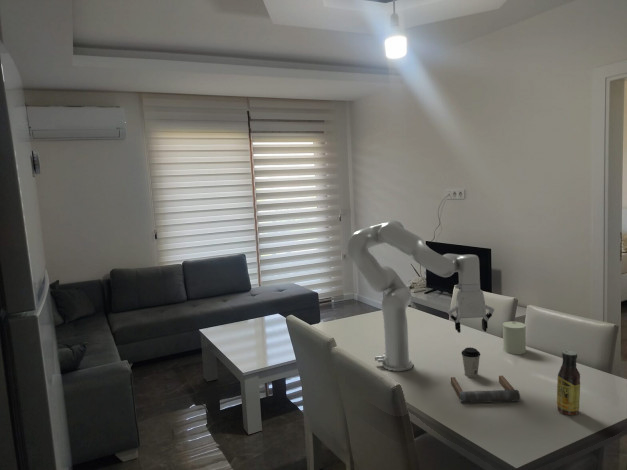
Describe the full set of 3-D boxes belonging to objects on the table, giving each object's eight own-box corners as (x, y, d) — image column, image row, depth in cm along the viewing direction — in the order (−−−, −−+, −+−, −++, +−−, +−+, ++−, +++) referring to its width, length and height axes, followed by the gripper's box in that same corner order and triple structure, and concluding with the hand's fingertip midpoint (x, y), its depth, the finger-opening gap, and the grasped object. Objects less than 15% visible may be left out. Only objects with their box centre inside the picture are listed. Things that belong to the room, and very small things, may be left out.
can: (524, 347, 194) (524, 320, 193) (527, 355, 186) (527, 327, 184) (502, 345, 197) (501, 319, 196) (503, 353, 189) (503, 326, 187)
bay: (462, 404, 148) (462, 394, 148) (450, 383, 164) (450, 374, 164) (520, 403, 147) (520, 392, 147) (503, 382, 163) (502, 372, 162)
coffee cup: (482, 379, 166) (481, 353, 165) (463, 378, 168) (462, 353, 167) (479, 371, 173) (478, 346, 172) (460, 370, 174) (460, 346, 173)
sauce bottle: (552, 407, 143) (552, 348, 141) (570, 405, 144) (570, 347, 141) (565, 418, 137) (565, 356, 134) (584, 415, 137) (585, 354, 135)
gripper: (448, 291, 163) (450, 335, 165) (496, 288, 162) (498, 333, 164) (444, 286, 171) (446, 329, 173) (489, 283, 170) (491, 326, 171)
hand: (471, 331), depth 168 cm, fingers open, 9 cm apart
